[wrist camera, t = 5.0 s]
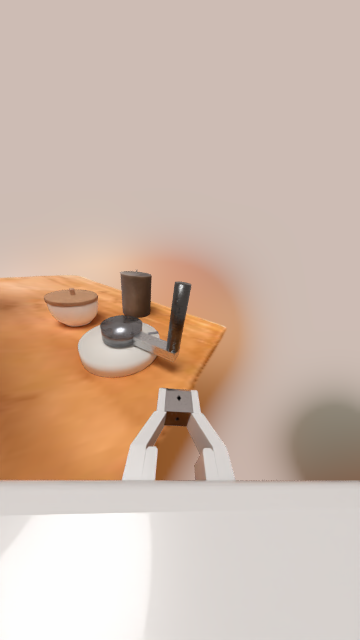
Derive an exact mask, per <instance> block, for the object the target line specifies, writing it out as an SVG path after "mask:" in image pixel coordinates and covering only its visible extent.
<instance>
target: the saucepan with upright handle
mask: <svg viewBox="0 0 360 640" xmlns="http://www.w3.org/2000/svg"><path fill="white" fill-rule="evenodd" d="M190 290H191V284H189V283H185V282H175V286H174V293H173V301H172V309H171V316H170V324H169V331H168V339H167V342H166V341H164V340H161V339H159V338H157V337H154V336H152V335H149V334H147V333H144V332H142V321H141V320H140V319H138V318H136V317H133V316H126V315H121V316H114V317H110V318H108V319H106V320H104V321H103V322H102V323H101V325H100V328H101V335H102V340H103V342H104V343H105V344H106V345H108V346H111V347H128V346H131V345H135V346H137V347H140V348H142V349H144V350H146V351H148V352H151V353H153V354H155V355H157V356H160V357H162V358H164V359H166V360H169V361H171V362H174V361H175V360H176V358H177V357H178V355H179V350H180V342H181V337H182V332H183V327H184V321H185V316H186V311H187V306H188V300H189V295H190Z"/></svg>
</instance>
